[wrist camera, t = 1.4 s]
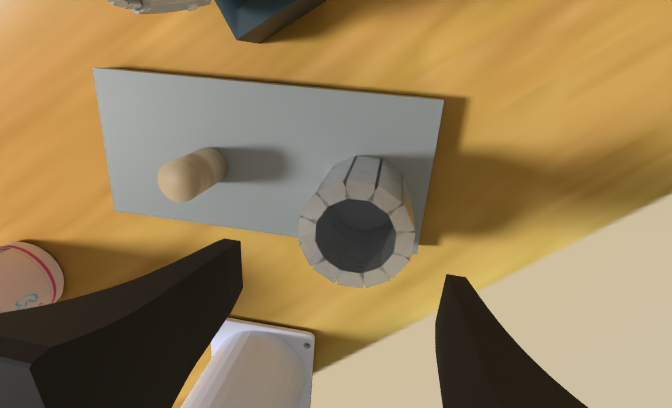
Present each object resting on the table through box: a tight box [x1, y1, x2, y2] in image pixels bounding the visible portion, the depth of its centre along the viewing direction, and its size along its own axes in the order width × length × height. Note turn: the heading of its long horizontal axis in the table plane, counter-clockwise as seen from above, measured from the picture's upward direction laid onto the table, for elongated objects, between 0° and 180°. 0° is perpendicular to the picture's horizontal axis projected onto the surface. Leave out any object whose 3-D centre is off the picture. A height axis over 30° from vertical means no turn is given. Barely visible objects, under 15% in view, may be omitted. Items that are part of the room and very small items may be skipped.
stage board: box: [93, 68, 444, 254], centre depth 22 cm, size 9×20×1 cm, turn 86°
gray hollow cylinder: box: [298, 155, 415, 288], centre depth 19 cm, size 5×5×5 cm
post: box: [157, 147, 228, 203], centre depth 21 cm, size 2×2×4 cm
